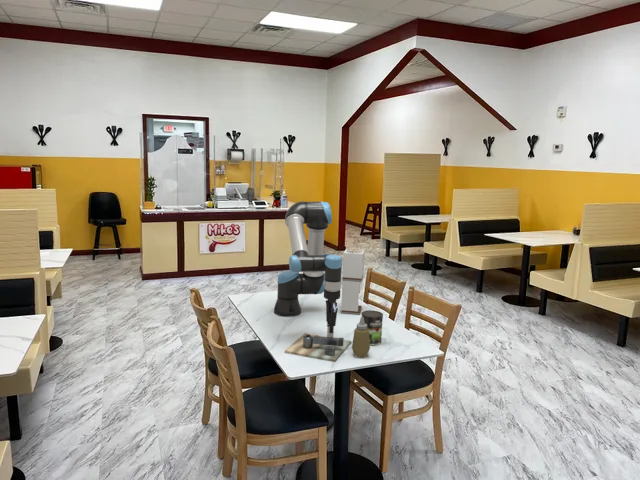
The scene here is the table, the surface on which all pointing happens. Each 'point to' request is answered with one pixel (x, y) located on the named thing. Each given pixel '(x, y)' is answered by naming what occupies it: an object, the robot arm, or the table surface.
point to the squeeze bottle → (361, 339)
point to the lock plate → (317, 349)
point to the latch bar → (321, 341)
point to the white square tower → (352, 282)
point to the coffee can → (373, 325)
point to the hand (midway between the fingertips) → (330, 338)
